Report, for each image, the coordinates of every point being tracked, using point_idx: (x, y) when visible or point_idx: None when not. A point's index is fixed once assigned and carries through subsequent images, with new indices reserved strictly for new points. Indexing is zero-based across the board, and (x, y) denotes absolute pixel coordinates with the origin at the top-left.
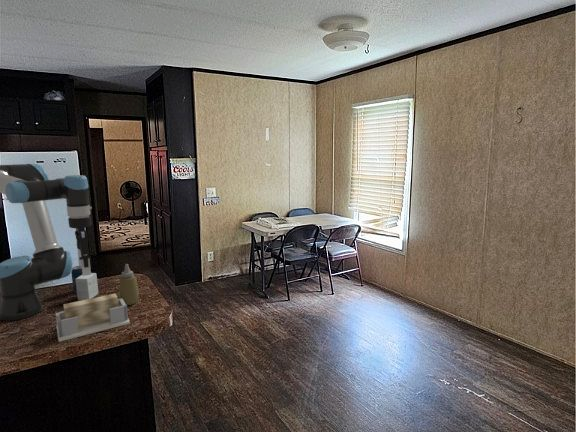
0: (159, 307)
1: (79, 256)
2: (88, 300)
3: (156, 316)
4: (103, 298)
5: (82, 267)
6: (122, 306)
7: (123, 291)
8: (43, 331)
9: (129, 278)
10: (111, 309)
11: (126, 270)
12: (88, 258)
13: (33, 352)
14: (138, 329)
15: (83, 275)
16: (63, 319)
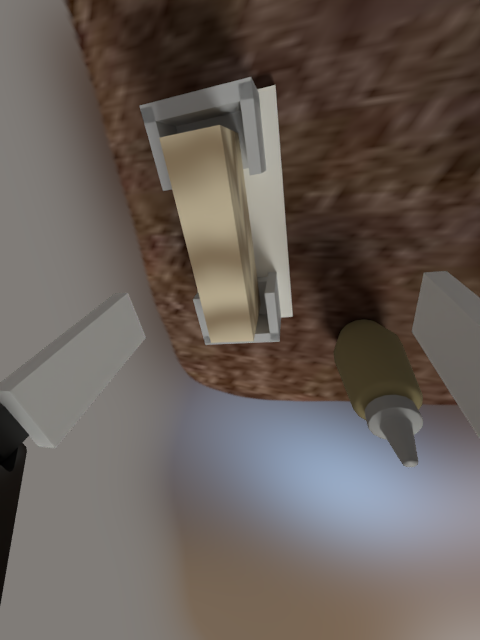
0: (274, 387)
1: (473, 339)
2: (221, 246)
3: (223, 371)
4: (218, 301)
5: (68, 332)
6: (204, 334)
7: (351, 352)
8: (276, 21)
9: (361, 407)
10: (194, 304)
11: (388, 433)
12: (34, 437)
13: (102, 22)
14: (167, 329)
15: (115, 298)
16: (156, 133)
